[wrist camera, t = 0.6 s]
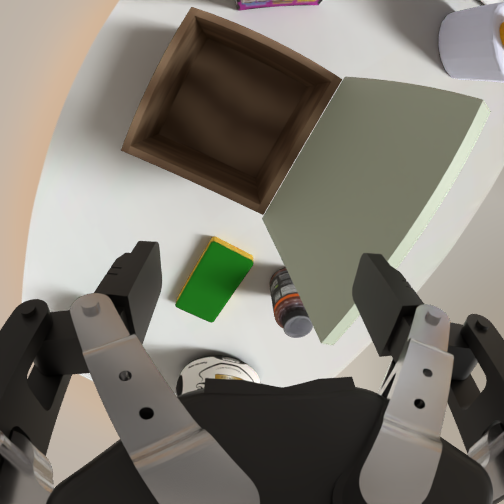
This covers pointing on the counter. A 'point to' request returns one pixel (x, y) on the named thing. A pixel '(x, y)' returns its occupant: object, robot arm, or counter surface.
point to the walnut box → (229, 109)
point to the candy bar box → (272, 3)
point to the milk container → (213, 372)
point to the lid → (367, 187)
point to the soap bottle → (474, 43)
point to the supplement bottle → (288, 306)
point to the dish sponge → (214, 279)
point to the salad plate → (491, 1)
